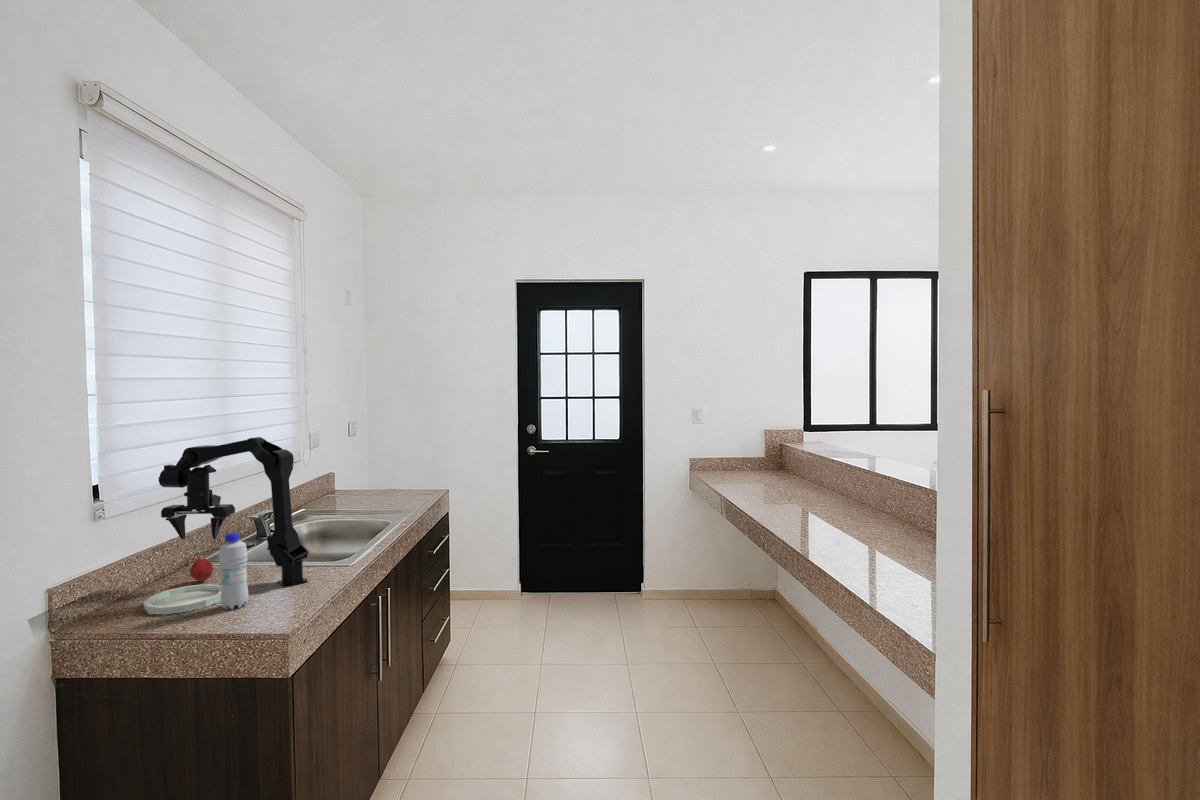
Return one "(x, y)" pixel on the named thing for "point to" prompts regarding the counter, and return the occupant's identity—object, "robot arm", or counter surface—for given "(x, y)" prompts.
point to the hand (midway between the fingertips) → (199, 539)
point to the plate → (183, 599)
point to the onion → (201, 569)
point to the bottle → (233, 571)
